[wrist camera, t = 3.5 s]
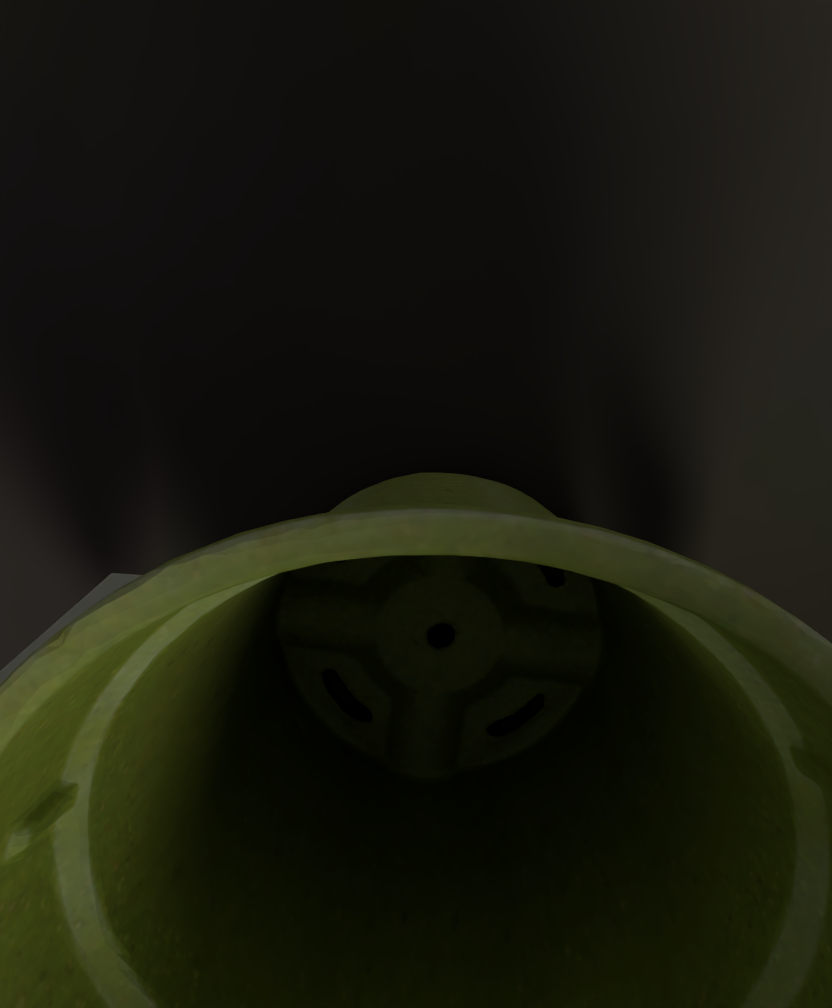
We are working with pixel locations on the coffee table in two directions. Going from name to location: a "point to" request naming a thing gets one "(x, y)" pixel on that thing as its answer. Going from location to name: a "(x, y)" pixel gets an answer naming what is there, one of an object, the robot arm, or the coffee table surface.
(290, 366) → the coffee table surface
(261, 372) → the coffee table surface
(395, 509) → the plant pot
